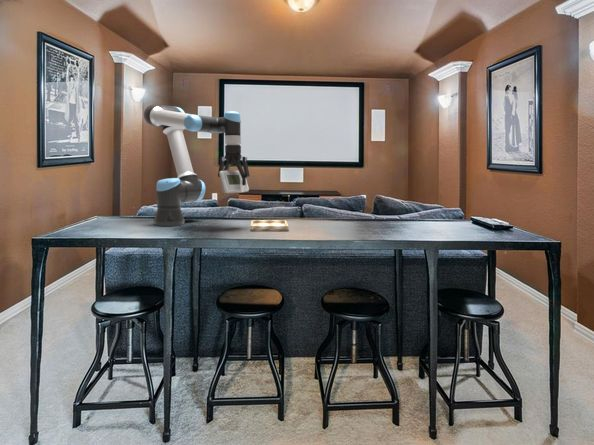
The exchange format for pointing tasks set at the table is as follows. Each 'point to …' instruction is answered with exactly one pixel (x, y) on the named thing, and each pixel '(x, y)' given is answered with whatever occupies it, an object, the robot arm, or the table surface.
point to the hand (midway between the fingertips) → (233, 191)
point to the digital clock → (232, 182)
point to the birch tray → (269, 225)
